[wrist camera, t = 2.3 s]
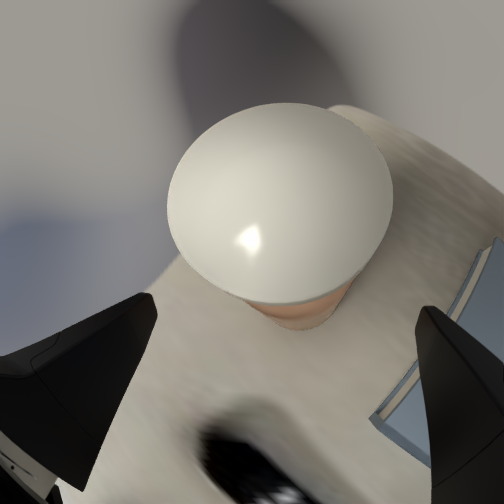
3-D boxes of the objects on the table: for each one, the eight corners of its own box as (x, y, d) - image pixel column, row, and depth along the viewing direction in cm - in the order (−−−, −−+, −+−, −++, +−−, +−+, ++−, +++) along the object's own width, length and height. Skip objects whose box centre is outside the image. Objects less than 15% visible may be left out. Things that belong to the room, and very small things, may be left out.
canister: (302, 349, 17) (286, 357, 5) (241, 294, 19) (131, 203, 7) (357, 284, 18) (429, 170, 6) (295, 234, 20) (266, 82, 8)
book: (454, 480, 11) (469, 494, 8) (367, 417, 15) (377, 429, 12) (546, 327, 13) (566, 322, 10) (478, 250, 17) (497, 236, 14)
